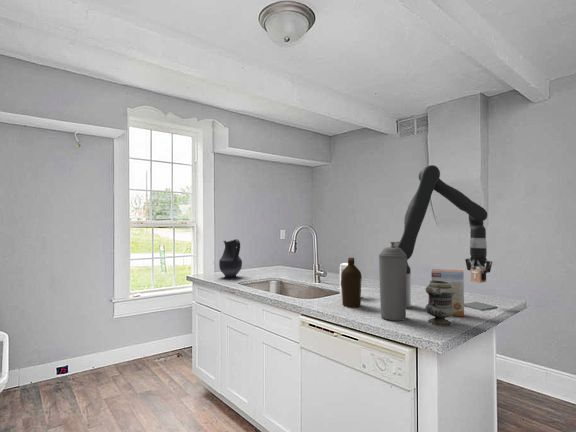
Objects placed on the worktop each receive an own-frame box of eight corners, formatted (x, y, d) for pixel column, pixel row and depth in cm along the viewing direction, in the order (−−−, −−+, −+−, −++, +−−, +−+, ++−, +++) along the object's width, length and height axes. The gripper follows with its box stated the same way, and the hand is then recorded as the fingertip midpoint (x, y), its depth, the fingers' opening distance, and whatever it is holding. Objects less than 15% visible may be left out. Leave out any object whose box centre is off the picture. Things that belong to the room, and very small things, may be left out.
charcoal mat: (481, 310, 177) (481, 309, 177) (460, 305, 188) (460, 304, 188) (497, 307, 183) (497, 306, 183) (476, 302, 193) (476, 301, 193)
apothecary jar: (440, 328, 150) (440, 285, 150) (419, 320, 161) (419, 280, 161) (461, 324, 155) (461, 282, 155) (439, 317, 166) (439, 278, 166)
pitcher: (234, 275, 291) (234, 237, 291) (249, 278, 275) (248, 239, 275) (215, 277, 280) (214, 238, 280) (229, 281, 264) (228, 240, 264)
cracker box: (464, 314, 172) (463, 270, 172) (464, 317, 166) (464, 271, 166) (432, 311, 178) (432, 268, 178) (431, 314, 172) (431, 270, 172)
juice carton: (344, 294, 217) (344, 262, 217) (357, 295, 212) (357, 263, 212) (338, 296, 211) (338, 263, 211) (351, 298, 206) (351, 264, 206)
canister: (396, 313, 174) (395, 240, 174) (413, 320, 162) (413, 242, 162) (373, 315, 170) (372, 241, 170) (389, 323, 158) (388, 243, 158)
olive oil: (343, 308, 185) (343, 259, 185) (339, 303, 195) (339, 256, 195) (364, 307, 185) (363, 258, 185) (359, 302, 195) (358, 256, 196)
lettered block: (479, 282, 182) (479, 270, 182) (470, 281, 186) (470, 269, 186) (486, 282, 184) (486, 269, 184) (477, 280, 189) (477, 268, 189)
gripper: (461, 246, 190) (461, 278, 190) (486, 248, 177) (486, 282, 177) (470, 245, 193) (471, 277, 193) (496, 247, 181) (496, 281, 181)
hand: (478, 279), depth 185 cm, fingers closed on lettered block, 5 cm apart
